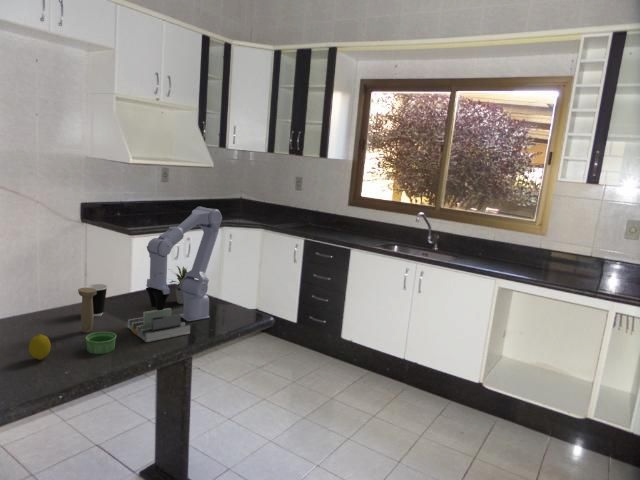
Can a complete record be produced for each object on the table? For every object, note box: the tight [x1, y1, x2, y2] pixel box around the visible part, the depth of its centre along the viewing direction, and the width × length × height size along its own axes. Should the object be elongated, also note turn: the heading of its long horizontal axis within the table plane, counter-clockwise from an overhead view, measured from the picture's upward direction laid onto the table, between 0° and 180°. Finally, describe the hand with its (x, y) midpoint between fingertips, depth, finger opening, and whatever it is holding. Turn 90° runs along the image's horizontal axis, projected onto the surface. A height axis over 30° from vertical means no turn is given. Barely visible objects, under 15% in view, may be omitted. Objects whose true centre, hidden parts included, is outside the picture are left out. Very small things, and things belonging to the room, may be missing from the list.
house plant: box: [168, 265, 188, 305], centre depth 202 cm, size 14×14×16 cm
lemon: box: [28, 333, 52, 361], centre depth 139 cm, size 6×6×8 cm
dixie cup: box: [84, 283, 108, 317], centre depth 179 cm, size 8×8×11 cm
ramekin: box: [84, 331, 117, 355], centre depth 150 cm, size 9×9×4 cm
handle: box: [77, 287, 97, 334], centre depth 162 cm, size 5×6×15 cm
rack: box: [127, 313, 191, 343], centre depth 169 cm, size 16×16×7 cm
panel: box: [142, 307, 173, 325], centre depth 170 cm, size 10×2×6 cm, turn 133°
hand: (157, 308), depth 170 cm, fingers open, 4 cm apart
